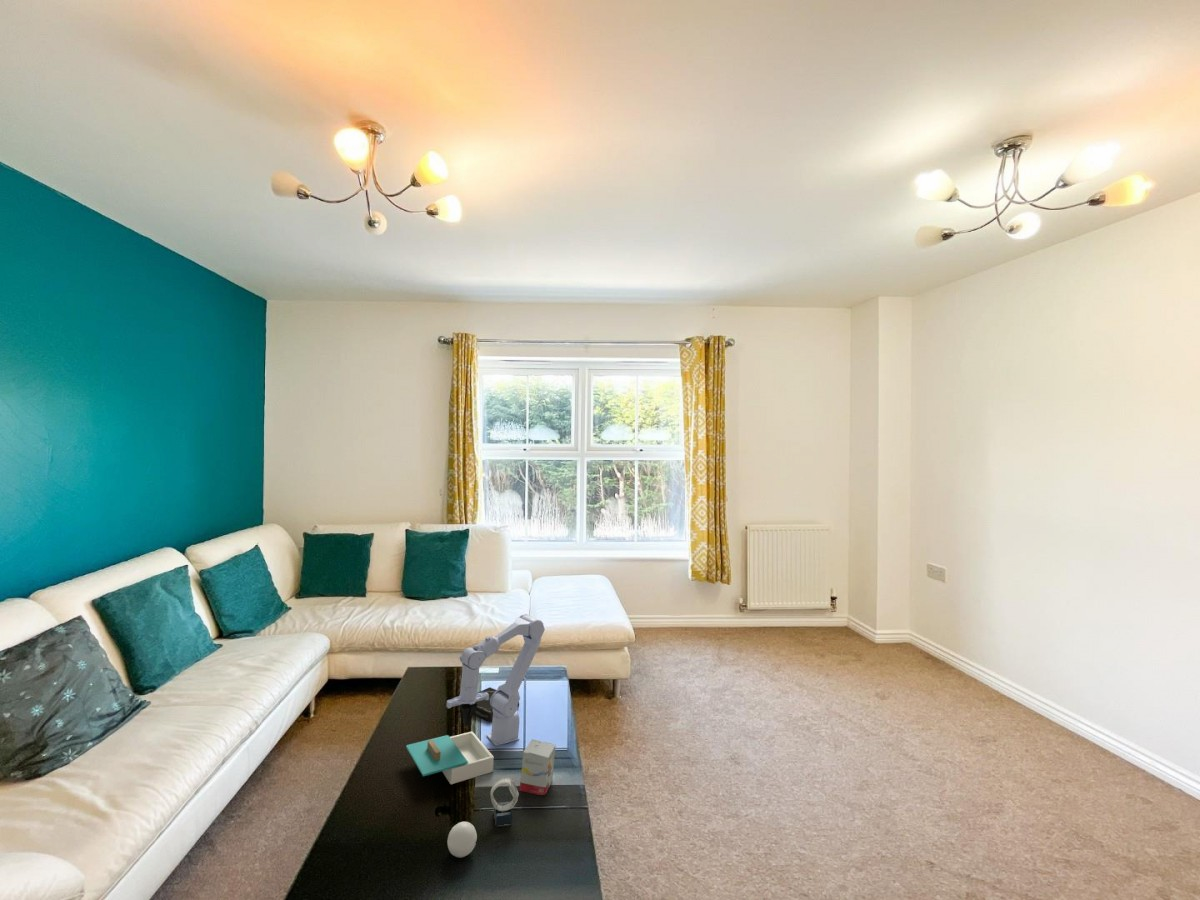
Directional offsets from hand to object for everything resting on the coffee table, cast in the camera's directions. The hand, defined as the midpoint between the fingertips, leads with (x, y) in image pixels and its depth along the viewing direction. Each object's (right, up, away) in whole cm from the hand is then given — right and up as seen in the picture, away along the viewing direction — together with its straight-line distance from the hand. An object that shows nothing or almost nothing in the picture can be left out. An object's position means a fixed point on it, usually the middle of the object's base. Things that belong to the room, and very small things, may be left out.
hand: (465, 724), depth 177 cm
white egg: (+10, -9, -44) cm, 46 cm away
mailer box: (0, -9, -7) cm, 12 cm away
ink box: (+26, -11, -15) cm, 32 cm away
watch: (+19, -10, -32) cm, 38 cm away
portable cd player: (+1, -11, +32) cm, 34 cm away
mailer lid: (-6, -4, -12) cm, 14 cm away
